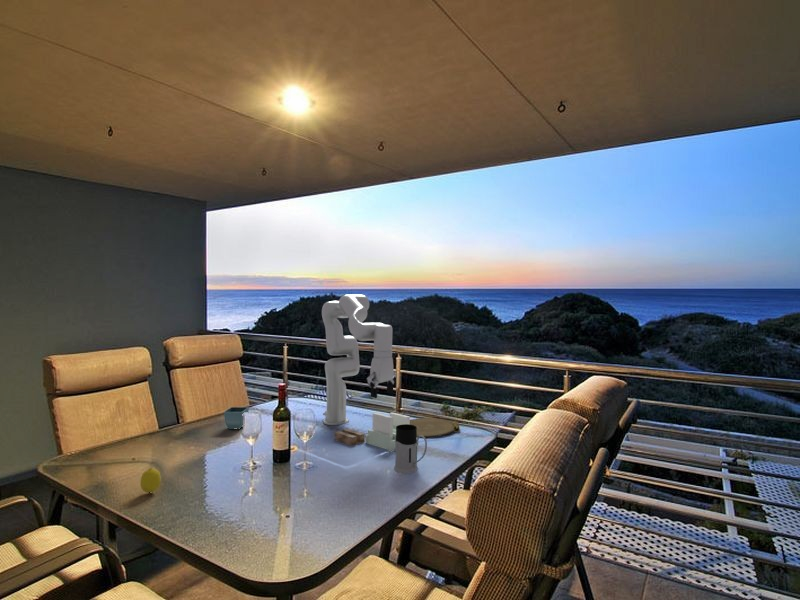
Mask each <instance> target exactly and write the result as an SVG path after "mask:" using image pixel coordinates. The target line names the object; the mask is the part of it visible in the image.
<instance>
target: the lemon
mask: <svg viewBox="0 0 800 600" xmlns="http://www.w3.org/2000/svg"><path fill="white" fill-rule="evenodd" d="M161 483H162V478H161V473H160V471H159V470H158V469H156V468H153V467H150V468H148V469H146V470H145V471H144V472H143V473H142V475H141V478H140V487H141V489H142V491H143V492H145V493H148V492H152V493H154V492H155V491H157V490H158V489H159V487H160V485H161Z"/></svg>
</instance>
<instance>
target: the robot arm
mask: <svg viewBox="0 0 800 600" xmlns="http://www.w3.org/2000/svg"><path fill="white" fill-rule="evenodd" d="M369 309H370V300H369V298H368V297H367V296H366V295H364V294H357V293H356V294H355V293H354V294H353V293H352V294H351V293H350V294H344V295H342V296H341V297H340V298H339V299H338V300H331V301H326V302H325V303H323V305H322V308H321V316H322V321H323V324H324V328H325V342H326V343H325V344H326V351H327V354H329V355H330V356H343V355H345V356H346V357H345V356H344V357H334V358H330V359H328V360H327V361H326V362H325V364H324V372H325V378H326V379H325V380H326V410H325V411H324V412H323V413H322V415H323V416H325V418H324V419H323V424H325V425H328V426H342V425H345V424H348V423H349V422H350V418H349V417H347V386H346V383H345V381H344V380H343V378H345V377H346V378H347V377H353V376H356V375H358V374H359V372H360V369H361V368H360V367H361V366H360V354H359V353H360V351H359V343H358V341H360V342H366V341H373V357H372V359H371V364H370V369H369V371H370V372H369V375H368V376H367V378H366V381H367V384H368V386H369V388H370V397H371V398H374V399H377V398H378V388H377V387H378V386H379V384H382V383H386V382H387V383H386V394H389V395H393V394H394V385H395V381H396V380H397V374H398V373H397V371H395V369H394V359H393V327H392V325H391V324H385V323H382V322H364V321H365V320H366V319H367V317H368V310H369ZM339 319H348V324H347V325H348V330H349V332H350V333H351V334H350V335H344V331H343V330H344V329H343V325H342V323H341V321H340V320H339Z"/></svg>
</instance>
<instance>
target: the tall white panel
mask: <svg viewBox="0 0 800 600" xmlns="http://www.w3.org/2000/svg"><path fill="white" fill-rule="evenodd" d="M371 430H372V431H376V432H379V433H383V434H386V435H390V436H392V440H393V417H391V416H390V415H387V414H381V413H379V412H374V413H372V429H371Z"/></svg>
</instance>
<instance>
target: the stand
mask: <svg viewBox="0 0 800 600" xmlns="http://www.w3.org/2000/svg"><path fill="white" fill-rule="evenodd" d="M365 437H366V434H365V433H364V432H359V431H358V430H357V431H356V430H353V429H350V428H345V429H342V431H341V430H337V431H335V432H334V439H333V441H337V442H339V443H343V444H346V445H348V446H351V447H353V446H356V445H360V444H363V443H366V442H365Z"/></svg>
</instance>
